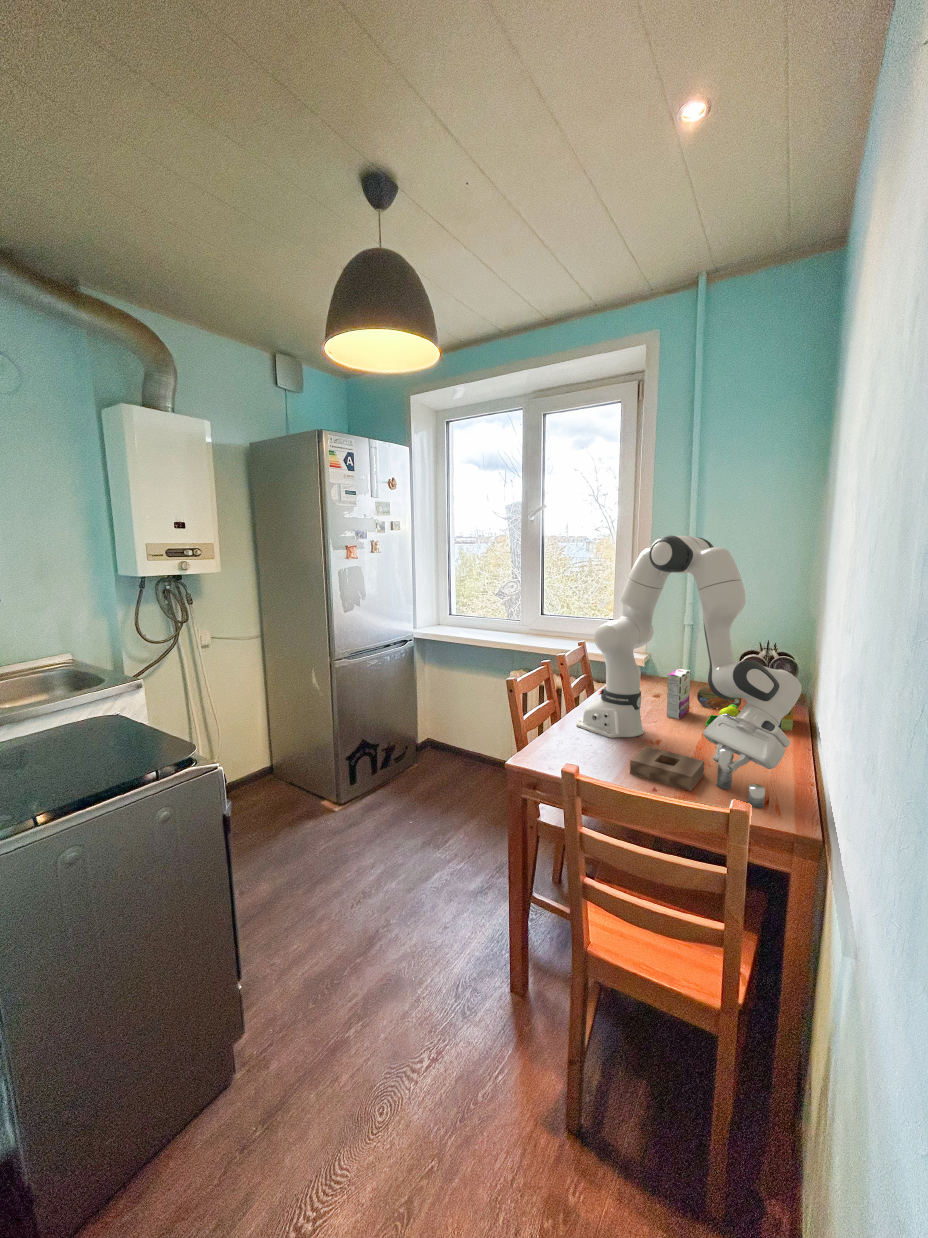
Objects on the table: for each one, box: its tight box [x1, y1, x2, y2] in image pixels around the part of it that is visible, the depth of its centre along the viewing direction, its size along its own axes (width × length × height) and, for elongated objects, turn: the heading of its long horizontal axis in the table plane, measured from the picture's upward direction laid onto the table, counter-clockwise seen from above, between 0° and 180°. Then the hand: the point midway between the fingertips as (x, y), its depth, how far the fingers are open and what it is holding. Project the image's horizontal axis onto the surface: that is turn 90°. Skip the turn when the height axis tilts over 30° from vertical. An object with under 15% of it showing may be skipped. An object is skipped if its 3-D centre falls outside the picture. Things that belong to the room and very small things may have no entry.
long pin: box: [716, 747, 735, 790], centre depth 125 cm, size 3×3×10 cm
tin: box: [696, 685, 742, 710], centre depth 186 cm, size 15×3×8 cm, turn 56°
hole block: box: [629, 745, 705, 792], centre depth 132 cm, size 16×12×4 cm
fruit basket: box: [705, 704, 740, 728], centre depth 158 cm, size 11×9×11 cm
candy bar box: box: [666, 668, 691, 720], centre depth 179 cm, size 11×5×16 cm, turn 138°
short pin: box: [747, 783, 766, 810], centre depth 116 cm, size 3×3×4 cm
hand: (723, 765), depth 124 cm, fingers closed on long pin, 3 cm apart
